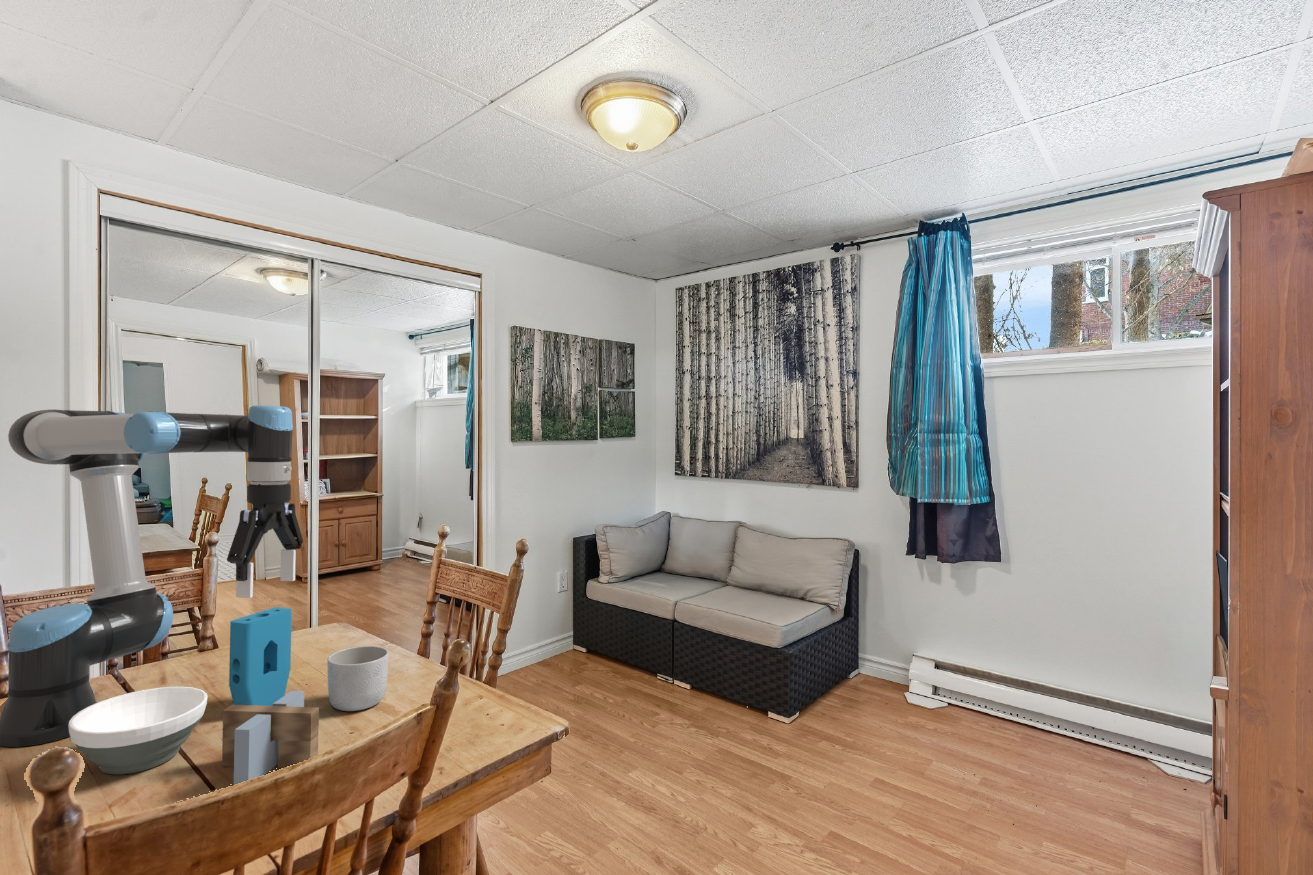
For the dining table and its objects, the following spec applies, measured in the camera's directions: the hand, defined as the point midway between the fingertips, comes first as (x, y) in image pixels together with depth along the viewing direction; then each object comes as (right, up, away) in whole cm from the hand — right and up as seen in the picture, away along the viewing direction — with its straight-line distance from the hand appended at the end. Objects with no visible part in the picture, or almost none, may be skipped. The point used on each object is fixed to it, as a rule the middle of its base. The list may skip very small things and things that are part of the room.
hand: (267, 588), depth 126 cm
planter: (+12, -29, +14) cm, 34 cm away
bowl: (-16, -29, -12) cm, 35 cm away
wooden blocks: (+8, -29, -12) cm, 32 cm away
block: (-9, -29, +11) cm, 32 cm away
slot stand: (+8, -29, -12) cm, 32 cm away
